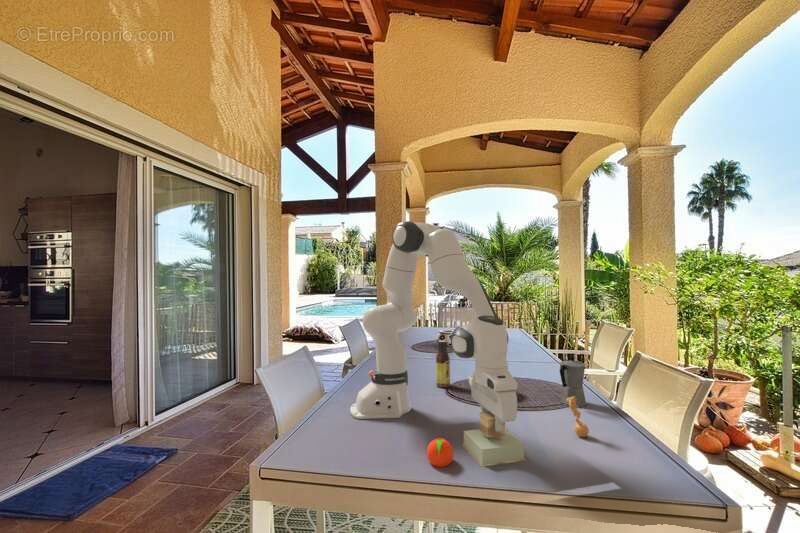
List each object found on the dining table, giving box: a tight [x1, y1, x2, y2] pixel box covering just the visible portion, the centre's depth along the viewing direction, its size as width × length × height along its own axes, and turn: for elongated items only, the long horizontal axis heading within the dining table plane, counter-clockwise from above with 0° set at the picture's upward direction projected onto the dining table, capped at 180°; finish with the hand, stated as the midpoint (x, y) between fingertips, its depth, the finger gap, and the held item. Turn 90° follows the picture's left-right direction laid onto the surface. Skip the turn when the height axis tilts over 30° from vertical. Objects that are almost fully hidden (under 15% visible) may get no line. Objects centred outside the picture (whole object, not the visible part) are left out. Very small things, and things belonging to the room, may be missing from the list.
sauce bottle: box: [435, 340, 451, 389], centre depth 172 cm, size 7×6×20 cm
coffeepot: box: [559, 355, 587, 408], centre depth 147 cm, size 15×9×18 cm, turn 129°
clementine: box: [426, 437, 454, 468], centre depth 101 cm, size 8×7×7 cm
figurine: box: [567, 396, 590, 438], centre depth 119 cm, size 8×6×12 cm
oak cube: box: [479, 411, 506, 438], centre depth 107 cm, size 5×5×5 cm
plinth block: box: [463, 428, 525, 465], centre depth 106 cm, size 12×12×4 cm
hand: (492, 425), depth 107 cm, fingers closed on oak cube, 5 cm apart
